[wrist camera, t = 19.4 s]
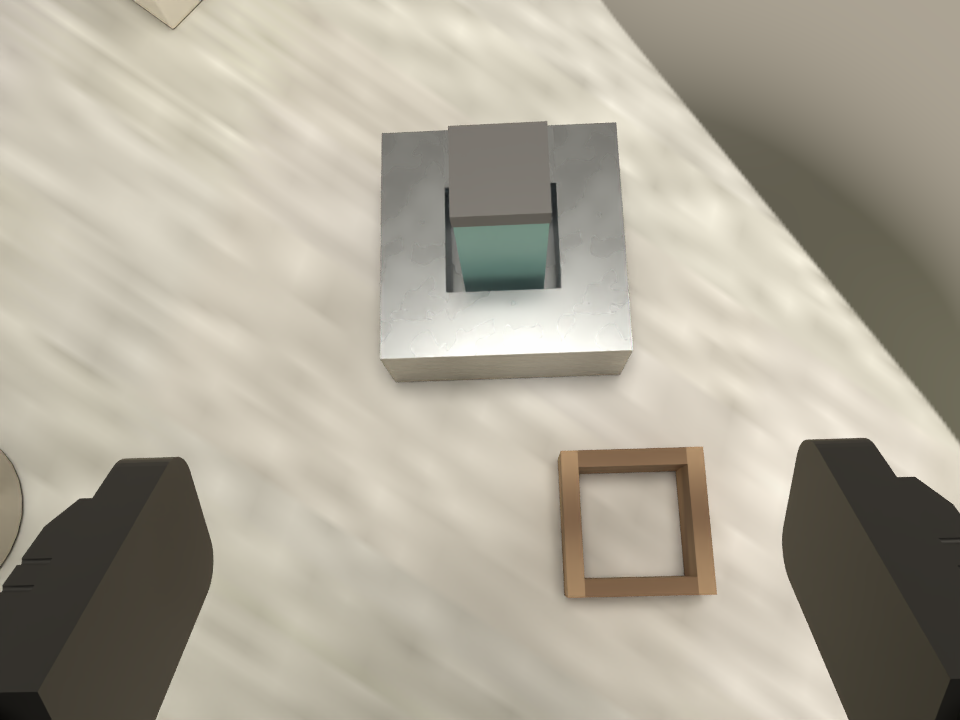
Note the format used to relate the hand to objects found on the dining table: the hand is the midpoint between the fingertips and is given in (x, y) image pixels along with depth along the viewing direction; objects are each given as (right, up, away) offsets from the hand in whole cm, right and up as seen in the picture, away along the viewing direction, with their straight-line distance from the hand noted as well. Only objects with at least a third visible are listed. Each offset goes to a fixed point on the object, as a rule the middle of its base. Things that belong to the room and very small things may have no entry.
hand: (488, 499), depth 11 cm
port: (+1, +7, +33) cm, 34 cm away
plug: (+1, +7, +32) cm, 33 cm away
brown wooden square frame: (+7, -6, +30) cm, 31 cm away
